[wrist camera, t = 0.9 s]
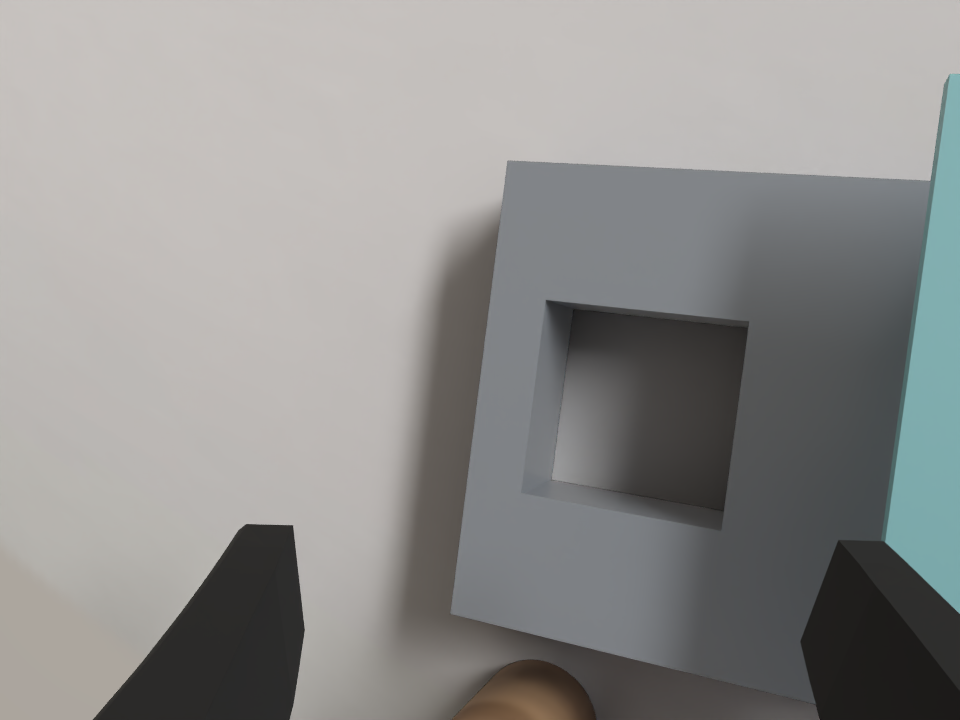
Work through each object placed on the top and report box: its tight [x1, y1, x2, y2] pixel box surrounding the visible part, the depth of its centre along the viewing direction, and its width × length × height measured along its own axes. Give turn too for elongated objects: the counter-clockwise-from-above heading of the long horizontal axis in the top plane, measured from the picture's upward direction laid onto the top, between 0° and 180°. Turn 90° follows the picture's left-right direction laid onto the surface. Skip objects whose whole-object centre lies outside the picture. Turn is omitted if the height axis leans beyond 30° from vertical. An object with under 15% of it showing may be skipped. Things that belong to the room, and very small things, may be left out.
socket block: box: [450, 161, 931, 704], centre depth 21 cm, size 12×12×3 cm
